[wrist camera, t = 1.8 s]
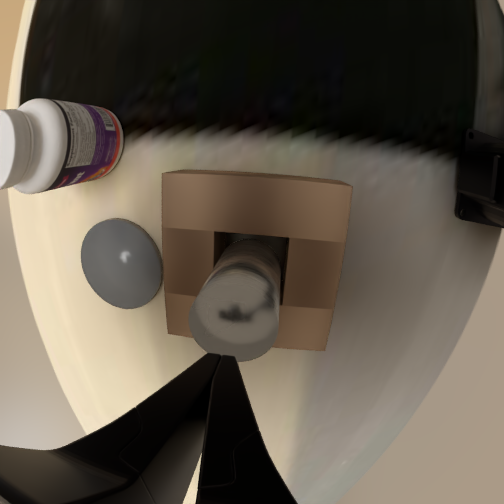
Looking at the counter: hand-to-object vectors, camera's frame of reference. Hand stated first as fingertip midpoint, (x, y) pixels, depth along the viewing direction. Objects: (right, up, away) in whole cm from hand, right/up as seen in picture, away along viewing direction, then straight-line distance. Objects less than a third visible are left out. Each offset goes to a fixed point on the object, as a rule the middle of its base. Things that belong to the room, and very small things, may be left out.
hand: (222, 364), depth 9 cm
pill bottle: (-10, +11, +10) cm, 18 cm away
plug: (+1, +3, +8) cm, 8 cm away
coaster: (-9, +3, +12) cm, 16 cm away
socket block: (+1, +4, +11) cm, 12 cm away
